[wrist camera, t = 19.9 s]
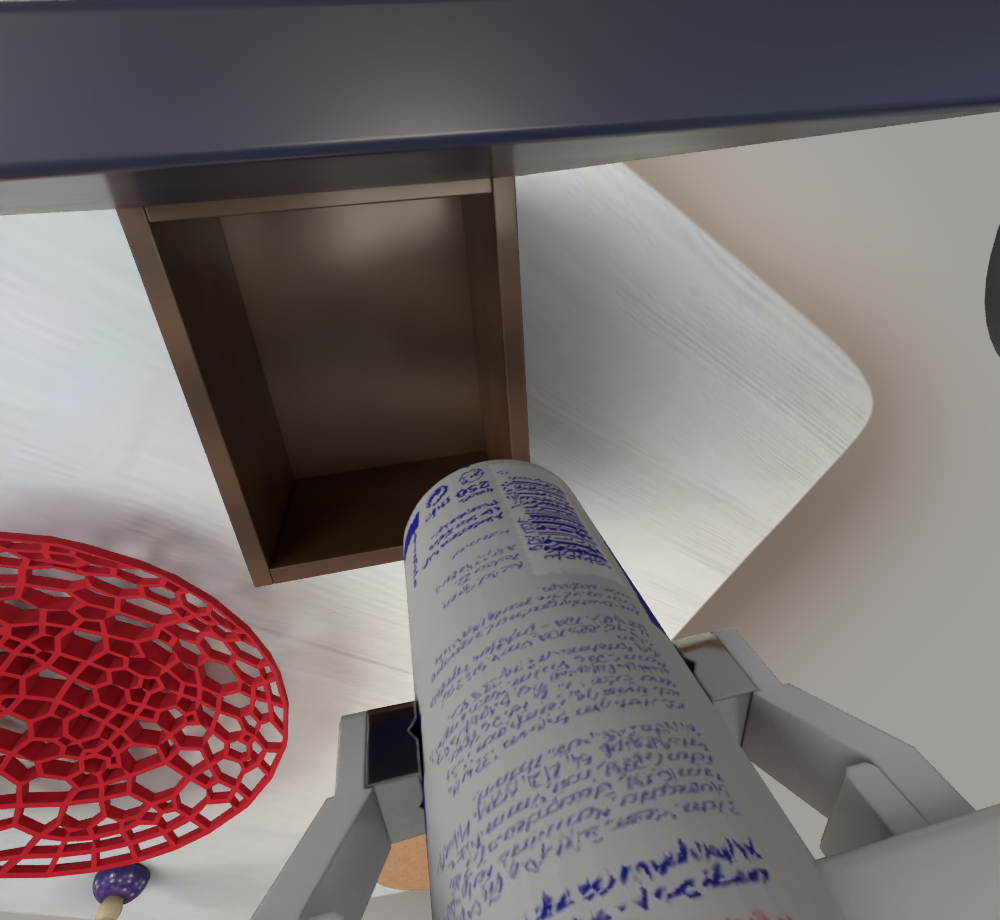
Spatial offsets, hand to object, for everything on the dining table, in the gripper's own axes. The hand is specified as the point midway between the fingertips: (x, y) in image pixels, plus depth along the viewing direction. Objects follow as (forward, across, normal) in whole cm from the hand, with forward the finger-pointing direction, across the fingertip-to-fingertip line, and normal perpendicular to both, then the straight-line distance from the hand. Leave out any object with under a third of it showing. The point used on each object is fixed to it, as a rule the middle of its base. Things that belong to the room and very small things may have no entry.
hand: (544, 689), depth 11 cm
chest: (+24, +4, -2) cm, 24 cm away
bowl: (+24, +28, +18) cm, 41 cm away
